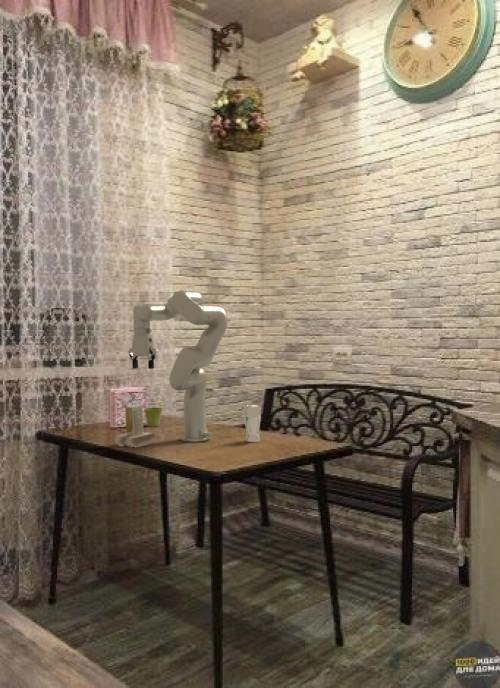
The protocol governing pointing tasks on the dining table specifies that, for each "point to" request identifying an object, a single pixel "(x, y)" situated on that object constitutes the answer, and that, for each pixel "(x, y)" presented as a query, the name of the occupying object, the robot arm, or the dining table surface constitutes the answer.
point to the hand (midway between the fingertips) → (143, 368)
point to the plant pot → (153, 416)
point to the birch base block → (134, 440)
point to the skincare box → (134, 420)
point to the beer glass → (252, 422)
